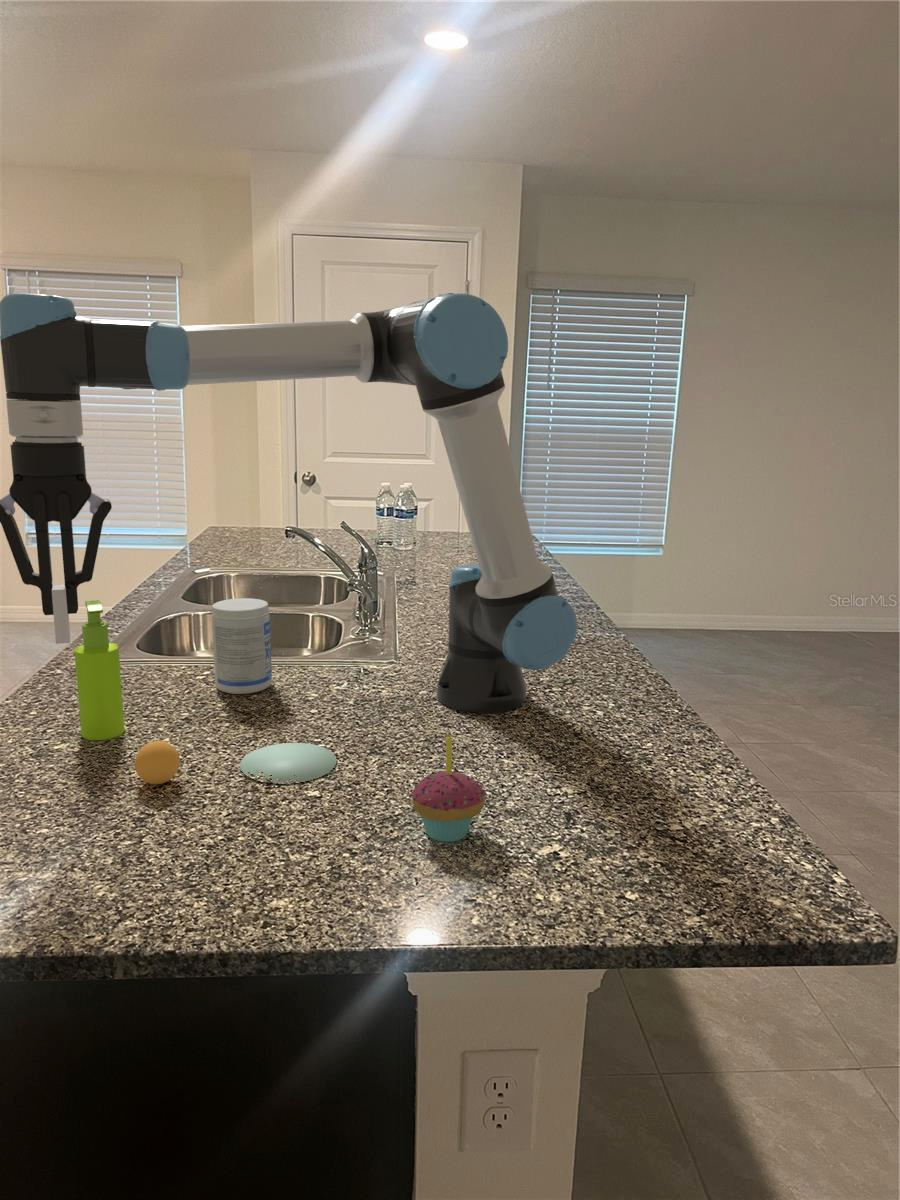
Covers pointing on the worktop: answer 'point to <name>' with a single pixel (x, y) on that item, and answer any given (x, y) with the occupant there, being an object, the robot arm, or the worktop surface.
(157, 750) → the ball
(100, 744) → the worktop surface
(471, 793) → the cupcake
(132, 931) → the worktop surface
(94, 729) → the soap dispenser
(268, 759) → the smooth pale green disc
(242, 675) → the supplement tub
